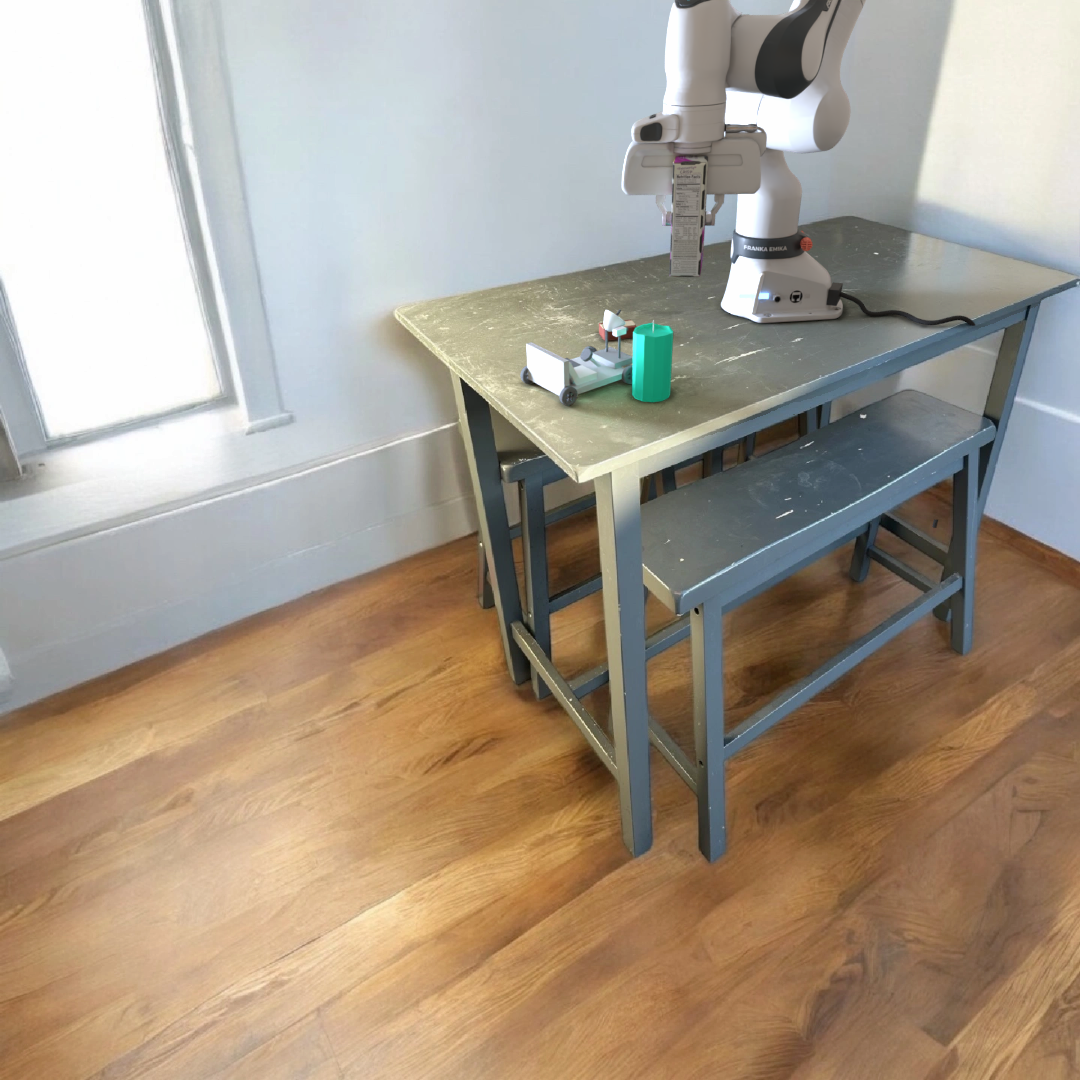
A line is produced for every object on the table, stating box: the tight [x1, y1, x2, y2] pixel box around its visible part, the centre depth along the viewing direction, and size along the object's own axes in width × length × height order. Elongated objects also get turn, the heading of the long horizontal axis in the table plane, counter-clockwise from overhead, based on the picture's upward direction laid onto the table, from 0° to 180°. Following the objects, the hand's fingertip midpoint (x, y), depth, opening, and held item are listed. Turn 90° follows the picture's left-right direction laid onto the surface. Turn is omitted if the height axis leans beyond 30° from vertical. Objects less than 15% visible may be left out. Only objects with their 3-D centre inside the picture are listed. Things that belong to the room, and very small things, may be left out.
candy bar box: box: [668, 155, 708, 278], centre depth 128 cm, size 11×5×16 cm, turn 168°
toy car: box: [519, 308, 633, 407], centre depth 136 cm, size 18×10×12 cm
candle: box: [631, 319, 674, 403], centre depth 130 cm, size 6×6×12 cm
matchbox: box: [598, 319, 638, 342], centre depth 154 cm, size 6×4×2 cm, turn 102°
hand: (688, 225), depth 129 cm, fingers closed on candy bar box, 5 cm apart
